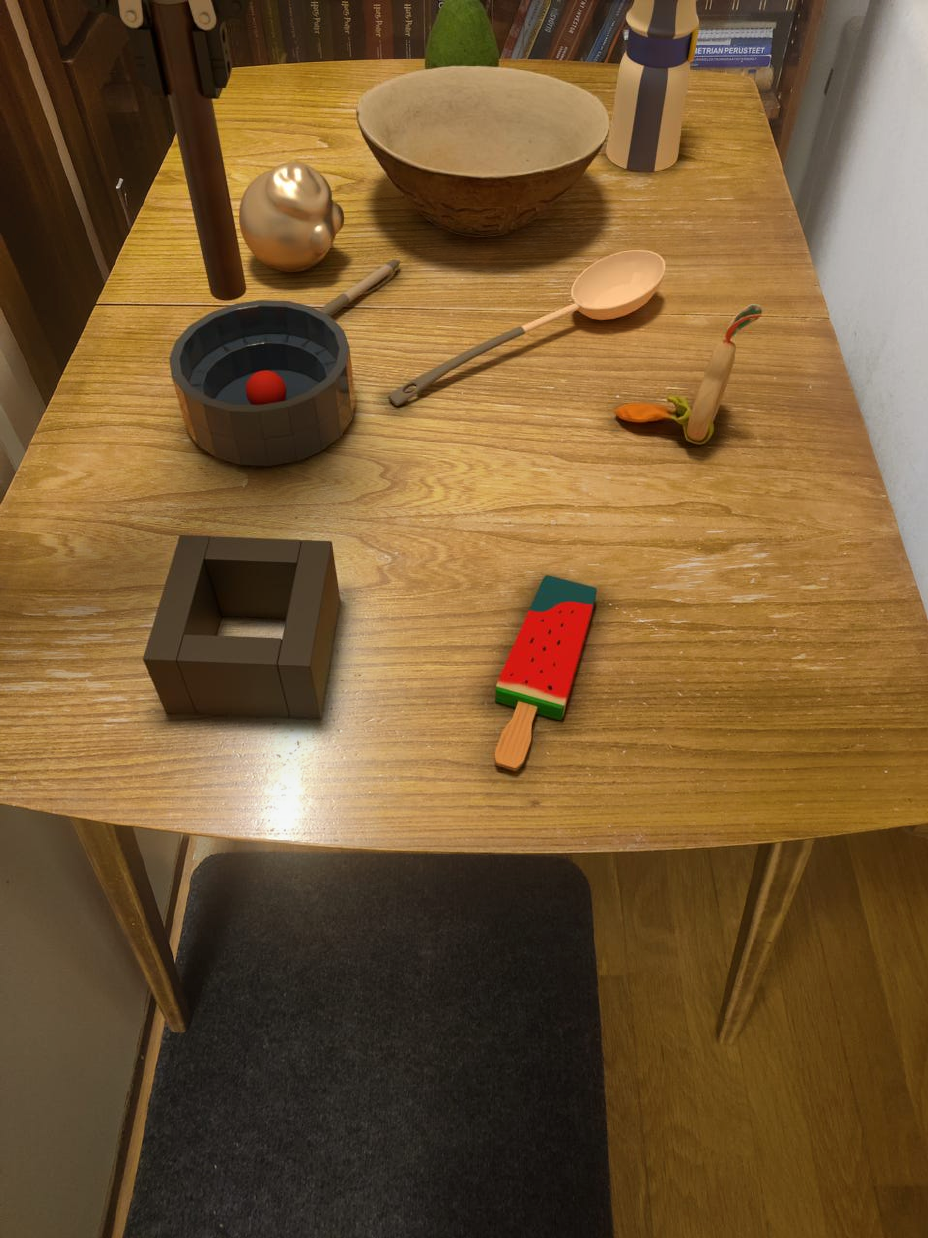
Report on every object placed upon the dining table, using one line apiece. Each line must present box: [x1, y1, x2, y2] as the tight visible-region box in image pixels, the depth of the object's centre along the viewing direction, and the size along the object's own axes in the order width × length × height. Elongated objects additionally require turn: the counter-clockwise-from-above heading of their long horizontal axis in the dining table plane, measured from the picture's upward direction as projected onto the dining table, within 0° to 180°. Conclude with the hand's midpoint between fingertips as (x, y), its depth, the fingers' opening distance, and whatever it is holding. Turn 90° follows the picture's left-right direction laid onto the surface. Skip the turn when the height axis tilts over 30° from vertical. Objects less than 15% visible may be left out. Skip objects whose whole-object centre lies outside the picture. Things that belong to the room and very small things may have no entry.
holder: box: [142, 534, 341, 721], centre depth 65 cm, size 10×10×6 cm
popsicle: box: [493, 574, 598, 772], centre depth 65 cm, size 4×2×15 cm
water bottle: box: [605, 0, 700, 173], centre depth 98 cm, size 8×9×25 cm
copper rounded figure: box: [238, 161, 345, 273], centre depth 91 cm, size 9×10×10 cm
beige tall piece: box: [614, 303, 763, 445], centre depth 77 cm, size 8×8×12 cm
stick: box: [148, 0, 247, 302], centre depth 60 cm, size 2×2×18 cm
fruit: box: [424, 0, 500, 70], centre depth 109 cm, size 8×8×12 cm
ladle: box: [387, 249, 667, 407], centre depth 87 cm, size 6×28×5 cm, turn 124°
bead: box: [246, 370, 287, 405], centre depth 80 cm, size 3×3×3 cm
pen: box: [318, 258, 401, 317], centre depth 90 cm, size 1×14×1 cm, turn 143°
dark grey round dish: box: [168, 299, 356, 467], centre depth 79 cm, size 14×14×6 cm
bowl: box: [355, 66, 610, 238], centre depth 97 cm, size 24×24×10 cm
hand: (189, 90), depth 57 cm, fingers closed on stick, 2 cm apart
